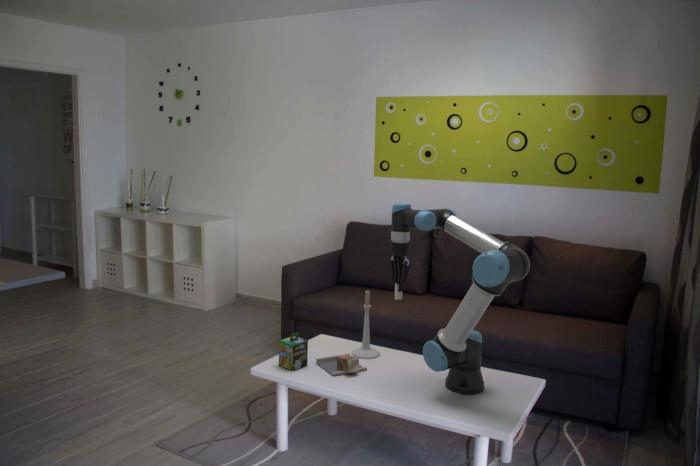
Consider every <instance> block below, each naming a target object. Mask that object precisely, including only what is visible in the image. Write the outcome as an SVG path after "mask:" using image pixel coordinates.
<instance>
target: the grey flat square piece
mask: <svg viewBox="0 0 700 466" xmlns="http://www.w3.org/2000/svg"><path fill="white" fill-rule="evenodd" d="M342 355H349V356H351V354H350V353H344V354H337V355H332V356H324V357H317V358H316V360H315V364H316V365H317V366H318V367H320V368H321V369H322V370H324V371H325V372H326V373H327V374H329V375H330V376H332V377H336V376H337V377H338V376H343V375H349V374H350V375H351V374H353V373H354V374H355V373H359V372H360V373H361V372H366V371H367V370H368V367H366V366H362V365H360V364H359V371H355V372H350V373H348V372H346V371H343V370H341V369H338V368H337V356H342Z"/></svg>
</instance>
